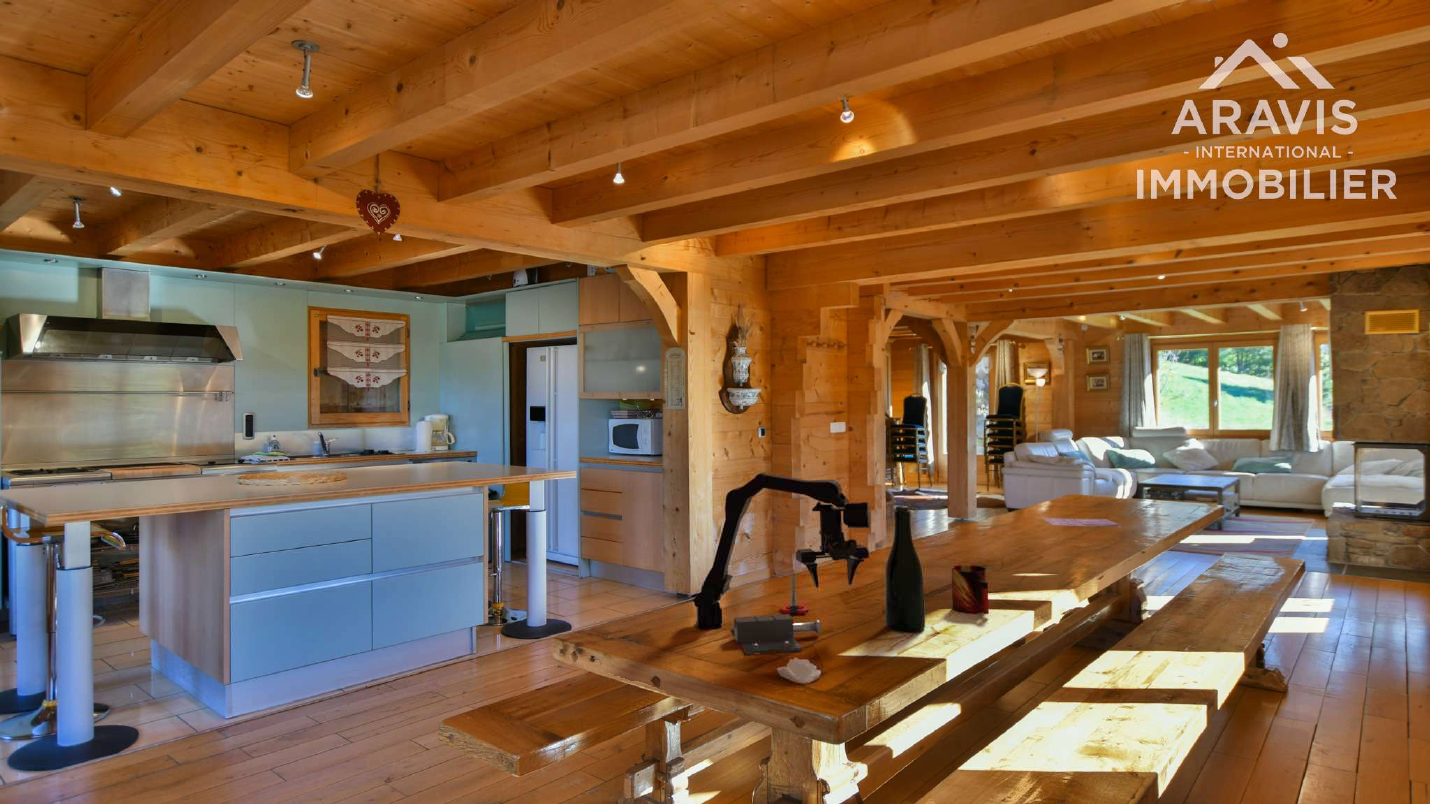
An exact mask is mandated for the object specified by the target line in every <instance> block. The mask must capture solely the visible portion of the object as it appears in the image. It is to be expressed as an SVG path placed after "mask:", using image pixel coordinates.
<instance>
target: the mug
mask: <svg viewBox="0 0 1430 804" xmlns="http://www.w3.org/2000/svg"><path fill="white" fill-rule="evenodd" d="M951 592H952V593H951V595H952V601H951V602H952V610H953V611H954V612H957V613H961V614H969V615H976V614H977V615H980V614H984V615H989V612H990V610H989V609H990V608H989V583H988V581H987V568H986V567H983V566H980V565H974V564H973V565H971V564H962V565H961V564H959V565H953V566H952V567H951Z"/></svg>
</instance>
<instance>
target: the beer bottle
mask: <svg viewBox="0 0 1430 804" xmlns="http://www.w3.org/2000/svg"><path fill="white" fill-rule="evenodd" d="M911 516H912V515H911V511H909V506H908V505H907V506H906V505H898V506H896V507H895V510H894V514H893V517H894V533H893V534H894V535H893V541H892V546H891V547H890V548H891V549H890V552H889V554H888V557H887V560H886V565H885V570H884V571H885V575H884V577H885V579H884V586H885V587H884V589H885V590H884V594H885V595H884V603H885V604H884V605H885V607H884V608H885V610H884V613H885V616H884V617H885V626H886V628H888V629H889V630H890V631H893V632H899V633H917V632H920V631H922V630H924V629H925V627H926V608H925V607H926V606H925V589H924V587H925V586H924V573H923V566H922V563H921V559H920V557H919V555H918V553H917V550H916V547H915V544H914V541H913V535H912V525H911V522H912V521H911V518H912V517H911Z"/></svg>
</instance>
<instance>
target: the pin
mask: <svg viewBox="0 0 1430 804" xmlns="http://www.w3.org/2000/svg"><path fill="white" fill-rule="evenodd" d="M820 621H821V620H820V619H814V621H809V622H793V634H798V633H809V632H811V633H813V632H814V633H815V634H821V631H822V627H821V626H822V625H821V622H820Z"/></svg>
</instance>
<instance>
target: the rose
mask: <svg viewBox="0 0 1430 804" xmlns="http://www.w3.org/2000/svg"><path fill="white" fill-rule="evenodd" d="M776 671H777V672H778V674H779V676H781V677H782V678H785V679H787V680H790V681H791V682H793V683H797V684H803V685H805V684H810V683H812V682H815V681H816V680H818V679H819V677H820V676H821V673H822V671H821V670H820V669H817V666H816V665H814V663H811V662H810V660H808V659H799V658H798V657H794V658H793V659H792V658H790V659H789V661H788V662H787V664H786V666H780V667H777V668H776Z"/></svg>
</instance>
